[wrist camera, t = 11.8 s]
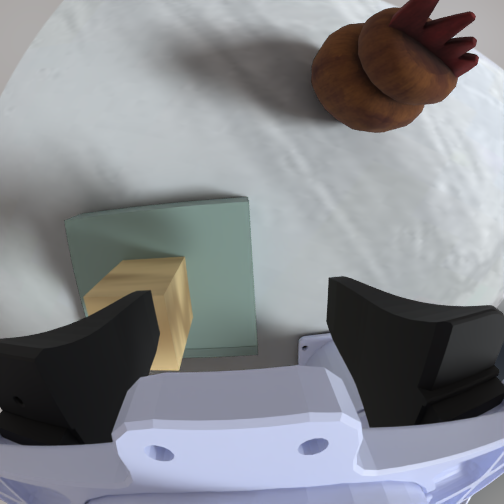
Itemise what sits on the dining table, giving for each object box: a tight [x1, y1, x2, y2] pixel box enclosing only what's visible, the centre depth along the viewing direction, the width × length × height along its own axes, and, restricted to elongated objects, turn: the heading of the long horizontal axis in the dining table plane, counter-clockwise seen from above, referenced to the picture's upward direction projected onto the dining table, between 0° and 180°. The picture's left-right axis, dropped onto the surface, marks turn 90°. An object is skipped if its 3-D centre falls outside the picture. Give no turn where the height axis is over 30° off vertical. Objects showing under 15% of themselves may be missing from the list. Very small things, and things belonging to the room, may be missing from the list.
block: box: [83, 256, 193, 371], centre depth 17 cm, size 4×4×6 cm
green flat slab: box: [64, 197, 258, 358], centre depth 21 cm, size 11×13×3 cm
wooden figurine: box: [311, 0, 479, 133], centre depth 12 cm, size 7×6×15 cm
